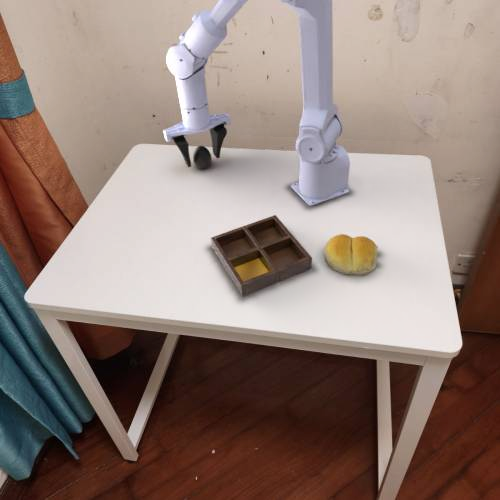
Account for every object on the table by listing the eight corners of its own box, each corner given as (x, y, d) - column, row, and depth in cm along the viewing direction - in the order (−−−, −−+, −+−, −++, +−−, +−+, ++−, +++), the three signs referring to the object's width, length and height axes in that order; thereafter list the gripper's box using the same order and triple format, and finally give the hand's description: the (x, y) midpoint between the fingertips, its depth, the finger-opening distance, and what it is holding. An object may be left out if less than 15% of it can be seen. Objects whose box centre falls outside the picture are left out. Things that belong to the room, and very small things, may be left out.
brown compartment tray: (275, 225, 85) (275, 214, 83) (311, 268, 76) (312, 257, 75) (212, 248, 81) (210, 237, 80) (242, 296, 73) (241, 285, 71)
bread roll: (326, 240, 81) (328, 223, 78) (377, 246, 79) (380, 229, 77) (320, 272, 76) (321, 255, 73) (375, 280, 74) (378, 263, 71)
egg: (213, 160, 103) (210, 141, 100) (211, 170, 100) (209, 150, 97) (195, 161, 103) (192, 142, 100) (193, 171, 100) (190, 151, 97)
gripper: (219, 87, 96) (225, 143, 105) (154, 104, 92) (166, 161, 101) (232, 100, 91) (237, 157, 101) (164, 118, 87) (176, 176, 97)
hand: (202, 160), depth 101 cm, fingers open, 6 cm apart
